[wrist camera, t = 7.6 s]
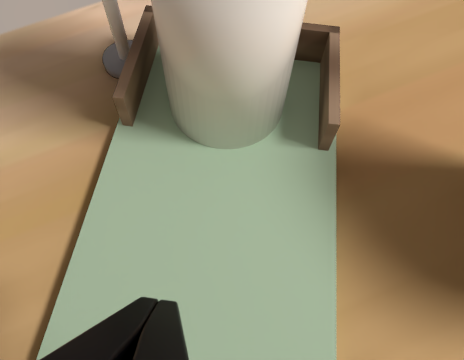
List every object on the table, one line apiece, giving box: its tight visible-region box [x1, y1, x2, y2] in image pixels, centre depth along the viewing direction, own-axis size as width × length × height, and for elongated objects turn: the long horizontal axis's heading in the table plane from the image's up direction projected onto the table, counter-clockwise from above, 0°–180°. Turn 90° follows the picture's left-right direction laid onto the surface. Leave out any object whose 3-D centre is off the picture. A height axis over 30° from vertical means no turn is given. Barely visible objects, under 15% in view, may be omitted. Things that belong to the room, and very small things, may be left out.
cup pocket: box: [112, 5, 340, 151], centre depth 23 cm, size 8×12×2 cm, turn 82°
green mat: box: [36, 46, 336, 360], centre depth 21 cm, size 21×13×1 cm, turn 172°
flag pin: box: [102, 0, 133, 79], centre depth 22 cm, size 4×3×9 cm, turn 172°
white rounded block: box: [151, 0, 307, 149], centre depth 18 cm, size 7×7×13 cm
